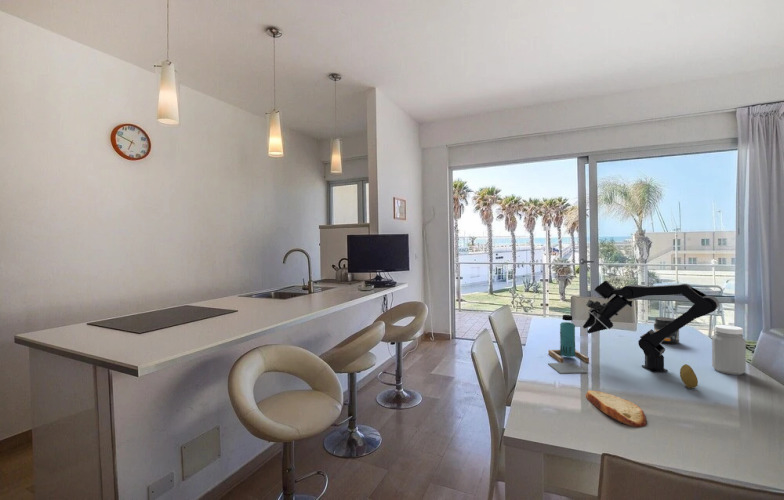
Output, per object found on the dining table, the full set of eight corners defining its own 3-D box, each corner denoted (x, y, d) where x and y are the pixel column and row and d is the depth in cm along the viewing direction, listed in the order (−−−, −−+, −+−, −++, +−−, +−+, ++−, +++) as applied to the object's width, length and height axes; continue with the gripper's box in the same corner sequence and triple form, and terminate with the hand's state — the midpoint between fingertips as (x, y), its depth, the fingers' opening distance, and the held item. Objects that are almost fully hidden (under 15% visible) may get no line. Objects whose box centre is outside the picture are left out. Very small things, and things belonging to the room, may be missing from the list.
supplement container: (649, 340, 185) (649, 318, 185) (661, 338, 189) (660, 316, 189) (672, 345, 175) (672, 322, 175) (683, 342, 180) (683, 319, 180)
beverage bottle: (572, 355, 165) (571, 313, 164) (578, 360, 158) (577, 316, 157) (557, 355, 165) (557, 313, 165) (563, 360, 159) (562, 316, 158)
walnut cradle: (588, 362, 155) (588, 357, 155) (561, 363, 155) (560, 358, 155) (574, 353, 168) (574, 349, 168) (548, 354, 168) (548, 349, 168)
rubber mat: (586, 373, 143) (586, 371, 143) (560, 373, 143) (560, 372, 143) (573, 363, 154) (573, 362, 154) (548, 364, 154) (548, 363, 154)
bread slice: (587, 393, 125) (587, 383, 125) (649, 407, 114) (649, 396, 114) (575, 413, 111) (575, 401, 111) (644, 431, 100) (644, 418, 100)
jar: (752, 376, 136) (752, 330, 135) (723, 375, 138) (723, 329, 137) (733, 367, 145) (733, 324, 145) (706, 366, 147) (706, 323, 147)
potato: (693, 392, 123) (693, 370, 123) (670, 384, 130) (670, 363, 130) (707, 390, 125) (707, 367, 125) (684, 382, 132) (684, 361, 132)
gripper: (593, 290, 166) (568, 313, 170) (604, 297, 148) (575, 321, 152) (612, 308, 164) (586, 330, 167) (625, 316, 146) (596, 340, 150)
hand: (585, 330), depth 159 cm, fingers open, 9 cm apart
